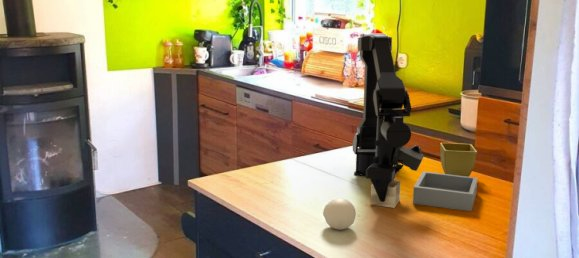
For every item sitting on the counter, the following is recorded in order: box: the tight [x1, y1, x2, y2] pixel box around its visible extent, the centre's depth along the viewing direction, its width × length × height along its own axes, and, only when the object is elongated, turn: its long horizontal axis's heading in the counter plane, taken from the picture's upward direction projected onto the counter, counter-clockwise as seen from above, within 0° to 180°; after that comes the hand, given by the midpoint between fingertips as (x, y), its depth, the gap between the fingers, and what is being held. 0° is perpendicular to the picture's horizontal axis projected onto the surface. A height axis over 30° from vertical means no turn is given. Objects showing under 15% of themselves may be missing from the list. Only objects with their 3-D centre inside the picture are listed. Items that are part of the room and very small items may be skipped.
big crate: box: [412, 170, 478, 212], centre depth 153 cm, size 14×14×4 cm
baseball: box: [322, 198, 357, 230], centre depth 134 cm, size 7×7×7 cm
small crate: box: [370, 179, 401, 209], centre depth 150 cm, size 6×6×5 cm
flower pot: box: [439, 142, 478, 177], centre depth 170 cm, size 9×9×9 cm
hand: (385, 197), depth 150 cm, fingers closed on small crate, 6 cm apart
